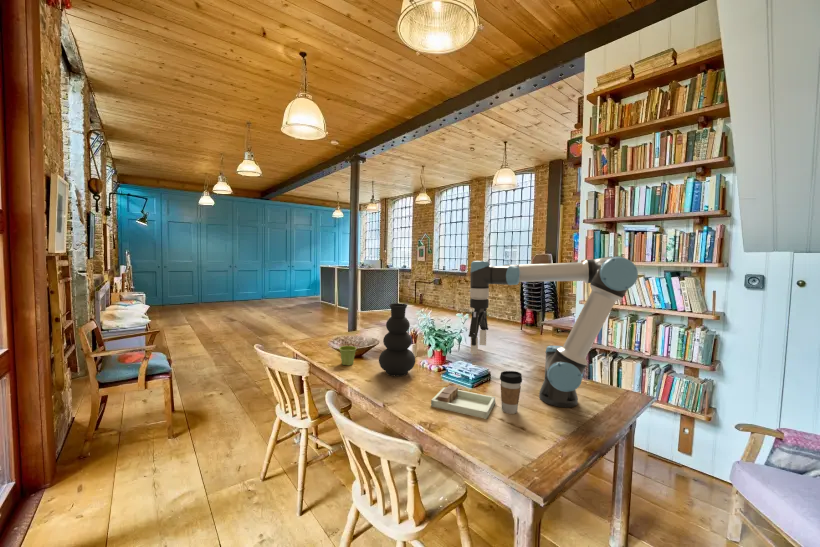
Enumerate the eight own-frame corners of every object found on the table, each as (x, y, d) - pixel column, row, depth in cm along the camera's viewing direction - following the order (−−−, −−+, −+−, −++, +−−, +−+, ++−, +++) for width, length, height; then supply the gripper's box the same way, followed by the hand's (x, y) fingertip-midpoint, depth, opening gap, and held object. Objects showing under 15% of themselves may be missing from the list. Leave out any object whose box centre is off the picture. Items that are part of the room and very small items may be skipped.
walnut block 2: (453, 399, 144) (453, 390, 143) (450, 403, 140) (450, 393, 140) (444, 397, 145) (444, 388, 145) (441, 401, 142) (441, 392, 141)
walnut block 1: (449, 404, 140) (450, 394, 139) (447, 408, 136) (447, 398, 136) (440, 402, 141) (440, 392, 141) (437, 406, 137) (437, 396, 137)
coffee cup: (521, 416, 133) (523, 378, 132) (498, 413, 134) (500, 375, 133) (519, 406, 141) (521, 370, 140) (497, 404, 143) (499, 368, 142)
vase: (402, 382, 163) (404, 309, 161) (371, 375, 172) (372, 305, 170) (421, 371, 179) (423, 304, 177) (391, 364, 188) (392, 300, 186)
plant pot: (350, 360, 195) (351, 344, 195) (359, 364, 188) (359, 348, 187) (335, 363, 189) (335, 347, 189) (344, 367, 182) (344, 351, 181)
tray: (494, 405, 142) (495, 397, 141) (486, 421, 128) (486, 412, 128) (443, 394, 151) (444, 386, 151) (431, 408, 137) (431, 400, 137)
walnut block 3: (457, 396, 147) (457, 387, 147) (454, 400, 144) (454, 390, 143) (448, 394, 149) (448, 385, 149) (445, 398, 145) (445, 388, 145)
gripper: (478, 294, 157) (477, 341, 158) (461, 301, 134) (460, 355, 135) (495, 295, 153) (494, 342, 154) (480, 302, 131) (479, 358, 132)
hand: (478, 348), depth 145 cm, fingers open, 13 cm apart
